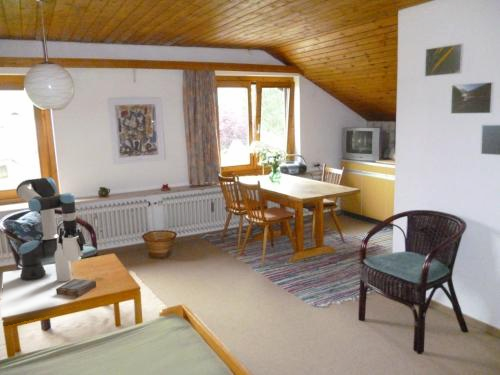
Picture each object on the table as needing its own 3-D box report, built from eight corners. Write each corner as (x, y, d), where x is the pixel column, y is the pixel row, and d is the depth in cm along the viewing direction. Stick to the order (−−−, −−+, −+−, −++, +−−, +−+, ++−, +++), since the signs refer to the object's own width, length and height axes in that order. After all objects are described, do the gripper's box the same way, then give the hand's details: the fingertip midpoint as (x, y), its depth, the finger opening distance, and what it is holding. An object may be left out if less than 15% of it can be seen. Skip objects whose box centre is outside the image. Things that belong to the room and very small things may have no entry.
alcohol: (54, 280, 279) (49, 236, 274) (65, 276, 287) (60, 232, 282) (63, 283, 275) (58, 237, 270) (74, 278, 283) (70, 234, 278)
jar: (86, 257, 263) (84, 234, 260) (74, 263, 253) (72, 238, 251) (72, 256, 266) (70, 232, 264) (60, 261, 257) (57, 237, 254)
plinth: (56, 294, 258) (56, 288, 257) (74, 284, 273) (74, 278, 272) (79, 297, 253) (78, 290, 253) (96, 286, 268) (95, 280, 268)
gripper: (49, 220, 255) (52, 255, 259) (81, 222, 248) (85, 258, 252) (58, 217, 262) (61, 251, 266) (90, 218, 256) (93, 254, 259)
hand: (73, 255), depth 259 cm, fingers closed on jar, 10 cm apart
